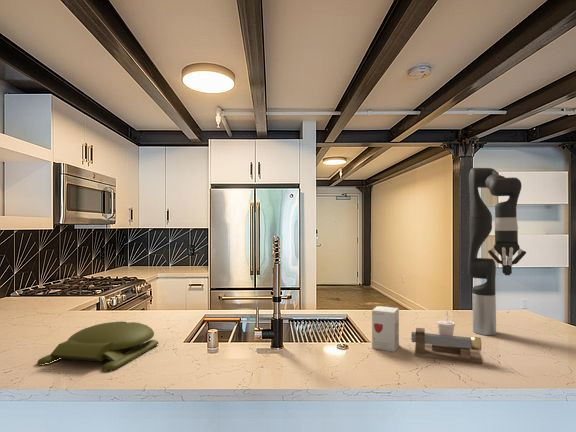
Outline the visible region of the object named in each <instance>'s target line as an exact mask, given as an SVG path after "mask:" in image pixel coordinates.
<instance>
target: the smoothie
mask: <svg viewBox="0 0 576 432" xmlns="http://www.w3.org/2000/svg"><path fill="white" fill-rule="evenodd" d="M445 313H446V314H445V317H446V318H445V319H446V320H444V319H443V320H437V321H436V325H437V329H438V334H440V335H450V336H454V328H455V327H456V324H455V322H454V321H451V320H449V312H448V311H447V310H446V312H445Z"/></svg>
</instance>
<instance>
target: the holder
mask: <svg viewBox="0 0 576 432" xmlns="http://www.w3.org/2000/svg"><path fill="white" fill-rule="evenodd" d="M425 330H426V329H425V328H424V327H423V328H422V327H416V328H415V332H416V342H415V347H414V357H422V358H429V359H437V360H445V361H451V362H452V361H453V362H462V363H470V364H478V365H483V360H482V358H481V355H480V353H479V350H471V348H462V347H452V346H443V345H434V344H425V338H424V334H425V333H426V331H425Z"/></svg>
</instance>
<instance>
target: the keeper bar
mask: <svg viewBox="0 0 576 432" xmlns="http://www.w3.org/2000/svg"><path fill="white" fill-rule="evenodd" d="M424 338H425V344H434V345H443V346H452V347H462V348H471V350H478V351H482V339H481V337H478V336H470V337H468V336H460V335H459V336H458V335H453V336H450V335H440V334H439V333H429V332H428V333H427V332H425V334H424ZM411 343H416V331H411Z"/></svg>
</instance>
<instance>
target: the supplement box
mask: <svg viewBox="0 0 576 432" xmlns="http://www.w3.org/2000/svg"><path fill="white" fill-rule="evenodd" d="M399 346H400V308H399V307H390V306H383V305H382V306H381V305H376V307H374V308H373V309H372V310H371V348H372V349H375V350H376V349H377V350H381V351H387V352H396V351H397V349H398V348H399Z"/></svg>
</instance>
